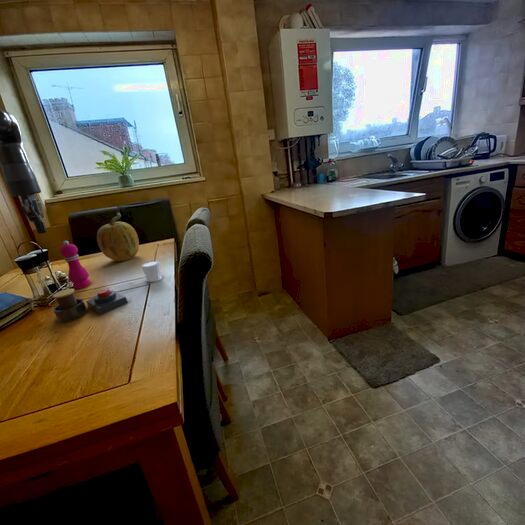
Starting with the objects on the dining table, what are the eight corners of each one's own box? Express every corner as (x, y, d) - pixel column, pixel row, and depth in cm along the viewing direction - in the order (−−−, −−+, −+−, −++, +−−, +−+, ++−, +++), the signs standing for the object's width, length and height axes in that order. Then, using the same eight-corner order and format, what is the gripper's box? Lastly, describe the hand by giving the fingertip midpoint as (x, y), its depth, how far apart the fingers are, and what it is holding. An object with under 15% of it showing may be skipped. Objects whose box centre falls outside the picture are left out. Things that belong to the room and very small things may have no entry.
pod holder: (62, 325, 87) (57, 314, 86) (54, 318, 93) (49, 307, 91) (90, 312, 93) (86, 302, 92) (81, 306, 98) (77, 296, 97)
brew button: (101, 298, 94) (99, 294, 93) (97, 296, 96) (95, 292, 95) (112, 294, 96) (110, 289, 96) (107, 292, 99) (106, 287, 98)
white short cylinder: (155, 275, 120) (151, 260, 117) (166, 277, 116) (162, 261, 114) (142, 281, 114) (137, 266, 112) (153, 283, 111) (148, 267, 108)
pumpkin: (140, 260, 142) (126, 212, 134) (100, 268, 138) (83, 219, 130) (145, 250, 159) (132, 207, 151) (109, 257, 156) (94, 213, 147)
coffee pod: (65, 320, 89) (56, 298, 86) (59, 315, 93) (50, 294, 90) (84, 312, 93) (76, 290, 90) (78, 307, 97) (70, 287, 94)
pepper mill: (90, 280, 123) (74, 237, 116) (93, 284, 118) (76, 239, 111) (71, 286, 119) (53, 241, 112) (73, 291, 113) (55, 244, 107)
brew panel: (101, 314, 91) (97, 304, 89) (88, 306, 98) (84, 296, 96) (127, 302, 97) (124, 292, 96) (114, 296, 104) (110, 286, 103)
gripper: (13, 180, 91) (34, 232, 97) (-2, 181, 79) (23, 239, 85) (40, 177, 94) (59, 227, 100) (29, 177, 82) (52, 234, 88)
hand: (42, 232), depth 93 cm, fingers closed
